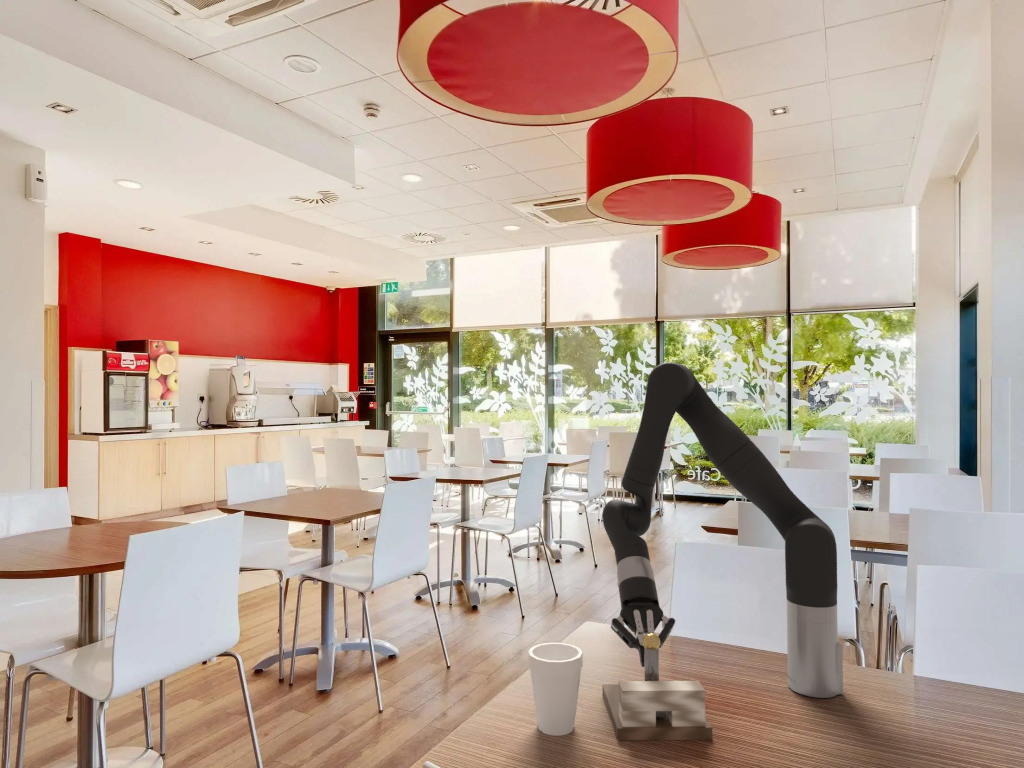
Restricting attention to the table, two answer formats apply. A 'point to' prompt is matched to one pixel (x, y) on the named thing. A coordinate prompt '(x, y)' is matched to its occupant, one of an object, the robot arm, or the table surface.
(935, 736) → the table surface
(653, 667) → the gold knob lever
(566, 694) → the foam cup
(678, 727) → the board
